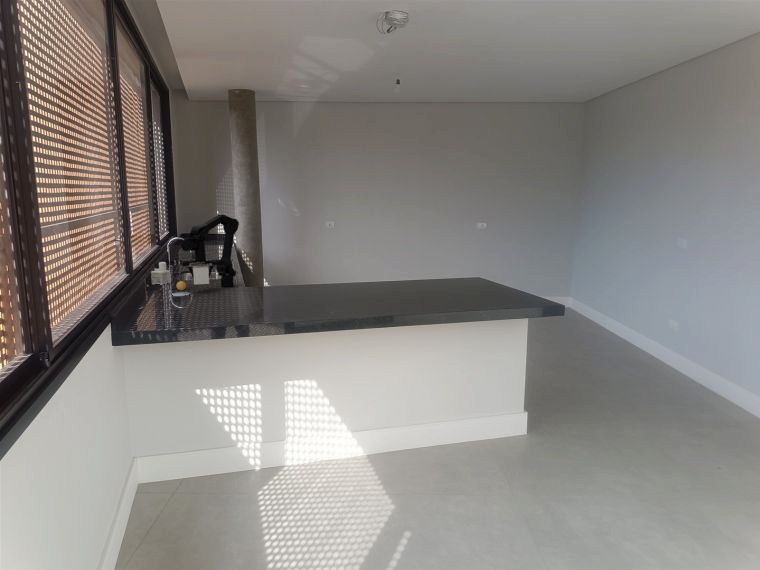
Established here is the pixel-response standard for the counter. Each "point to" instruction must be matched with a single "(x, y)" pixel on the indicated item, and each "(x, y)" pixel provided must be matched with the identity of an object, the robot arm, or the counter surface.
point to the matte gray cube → (201, 274)
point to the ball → (181, 285)
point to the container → (160, 274)
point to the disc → (181, 293)
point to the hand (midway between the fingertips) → (201, 278)
